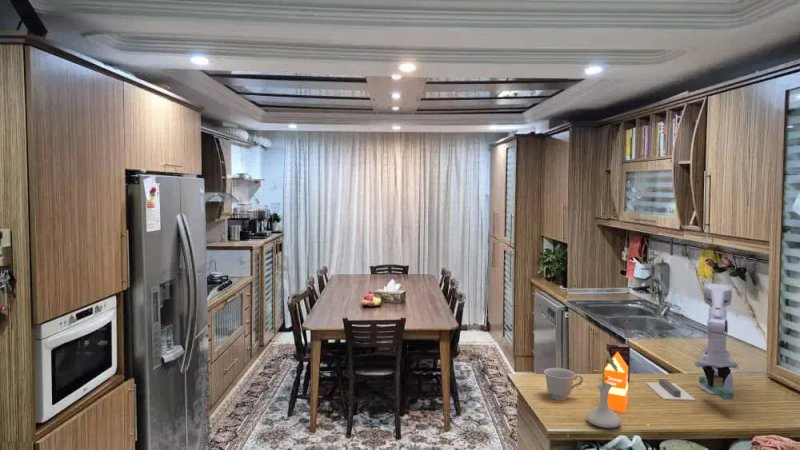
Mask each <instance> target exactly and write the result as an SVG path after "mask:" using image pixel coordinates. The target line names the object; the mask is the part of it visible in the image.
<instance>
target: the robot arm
mask: <svg viewBox="0 0 800 450" xmlns="http://www.w3.org/2000/svg"><path fill="white" fill-rule="evenodd" d="M732 299H733V286H732V285H731V284H720V283H718V284H717V283H707V282H705V283H704V284H703V301H704V303H705V304H706V305H708V306H709V308H708V320H707V323H706V324H707V327H706V328H707V329H706V331H707V338H708V339H707V346H705V347H703V348H702V352H701V360H694V366H695V367H696V368H702V371H703V372H704V376H706V378H707V381H708V385H709V386H710V387H713V378H714V375H718V376H720V377H722V378H723V387H725V388H726V389H728V390H729V391H731V392H732V393H733V396H734V395H735V394H734V391H733V389H734V377H733V374H732V372H731V371H732V368H733V369H736V370H737V369H739V363H738V362H736V361H731V357H730V356H731V355H730V352H729V350H728V349H727V335H728V333H729V322H728V318H727V310H726V308H725V307H728V306H730V305H731V303H732ZM699 388H700V389H702V390H703V391H705V393H707V394H709V395H716V394H715V393H714V392H712V391H711V390H710V389H708V388H707V387H705V386H704V385H699Z"/></svg>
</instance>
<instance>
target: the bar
mask: <svg viewBox="0 0 800 450" xmlns="http://www.w3.org/2000/svg"><path fill="white" fill-rule="evenodd" d="M698 380H699V381H698V382H699V383H700V384H701V386H705V387H707V388H708V389H710V390H711V391H712V392H714V393H715V394H714V395H717V396H718V397H720V398H721V399H722V400H725V401H734V395H733V394H734V392H733V393H732V392H731V391H729V390H728V389H726V388H725V387H723V378H722V377H720V376H718V375H714V378H713V387H710V386H709V385H708V381H707V378H706V376H705V375H703V376H702V375H699V377H698Z"/></svg>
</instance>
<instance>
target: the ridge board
mask: <svg viewBox="0 0 800 450" xmlns="http://www.w3.org/2000/svg"><path fill="white" fill-rule="evenodd" d="M658 381H659V382H646V381H645V385H647V387H648V388H650V389H651V390H652V391H653V392H654V393H655V394H657V395H658V396H659V397H660V398H661V399H662V400H663V401H681V402H696V401H697V400H696V398H695V397H693V396H691V394H689V393H688V392H686V391H685V390H684V389H683V388H681V387H680V386H679V385H678V384H676V383H675V382H674V383H673V382H670V381H668V380H667V379H666V378H659V379H658Z"/></svg>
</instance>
